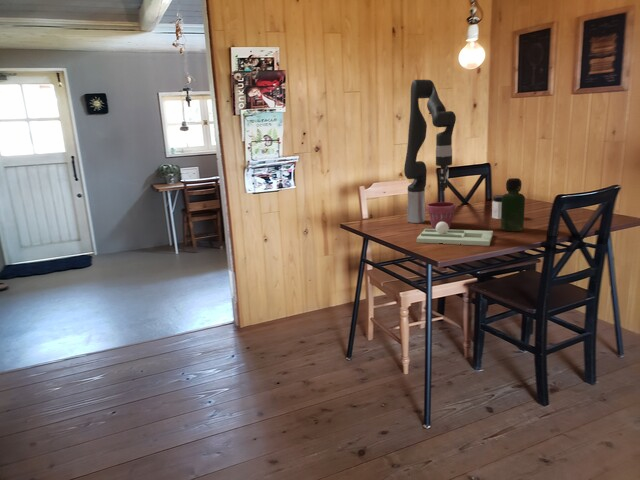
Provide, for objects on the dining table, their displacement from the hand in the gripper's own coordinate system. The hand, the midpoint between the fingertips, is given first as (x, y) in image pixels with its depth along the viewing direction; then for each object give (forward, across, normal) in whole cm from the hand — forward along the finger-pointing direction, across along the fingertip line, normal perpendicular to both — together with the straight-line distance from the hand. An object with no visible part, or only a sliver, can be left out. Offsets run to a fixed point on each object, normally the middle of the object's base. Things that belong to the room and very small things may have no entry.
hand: (444, 189), depth 226 cm
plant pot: (+22, -13, -3) cm, 26 cm away
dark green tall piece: (+23, -14, +31) cm, 41 cm away
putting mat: (+22, +8, +6) cm, 24 cm away
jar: (+22, -43, +25) cm, 54 cm away
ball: (+17, +8, 0) cm, 19 cm away
